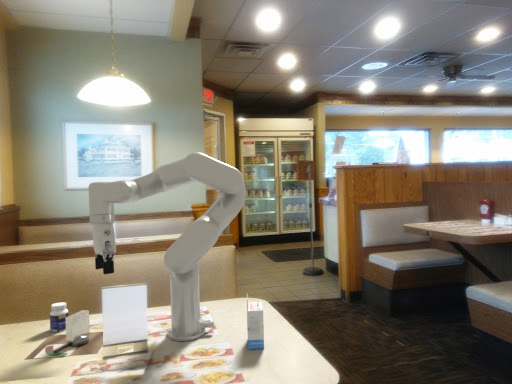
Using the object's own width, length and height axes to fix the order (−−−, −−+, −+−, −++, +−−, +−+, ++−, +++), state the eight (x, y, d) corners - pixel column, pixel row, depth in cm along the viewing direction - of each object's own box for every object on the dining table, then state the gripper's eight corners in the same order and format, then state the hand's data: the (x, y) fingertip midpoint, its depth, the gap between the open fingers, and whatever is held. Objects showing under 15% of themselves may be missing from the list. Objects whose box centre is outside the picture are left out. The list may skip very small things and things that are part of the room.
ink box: (264, 349, 110) (263, 300, 109) (248, 350, 110) (246, 300, 109) (263, 337, 118) (261, 291, 118) (247, 338, 118) (246, 292, 118)
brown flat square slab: (112, 334, 125) (112, 330, 125) (96, 358, 107) (96, 353, 107) (50, 339, 122) (49, 334, 122) (23, 364, 105) (23, 359, 105)
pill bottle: (61, 336, 124) (59, 307, 124) (46, 335, 125) (45, 306, 125) (72, 329, 130) (71, 301, 130) (58, 328, 131) (57, 301, 131)
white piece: (79, 337, 119) (78, 309, 119) (94, 338, 118) (93, 310, 117) (46, 354, 107) (45, 323, 107) (63, 356, 106) (61, 325, 105)
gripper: (122, 219, 116) (124, 273, 117) (106, 217, 130) (108, 265, 131) (97, 222, 112) (99, 277, 112) (84, 218, 126) (86, 268, 126)
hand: (104, 271), depth 121 cm, fingers open, 9 cm apart
